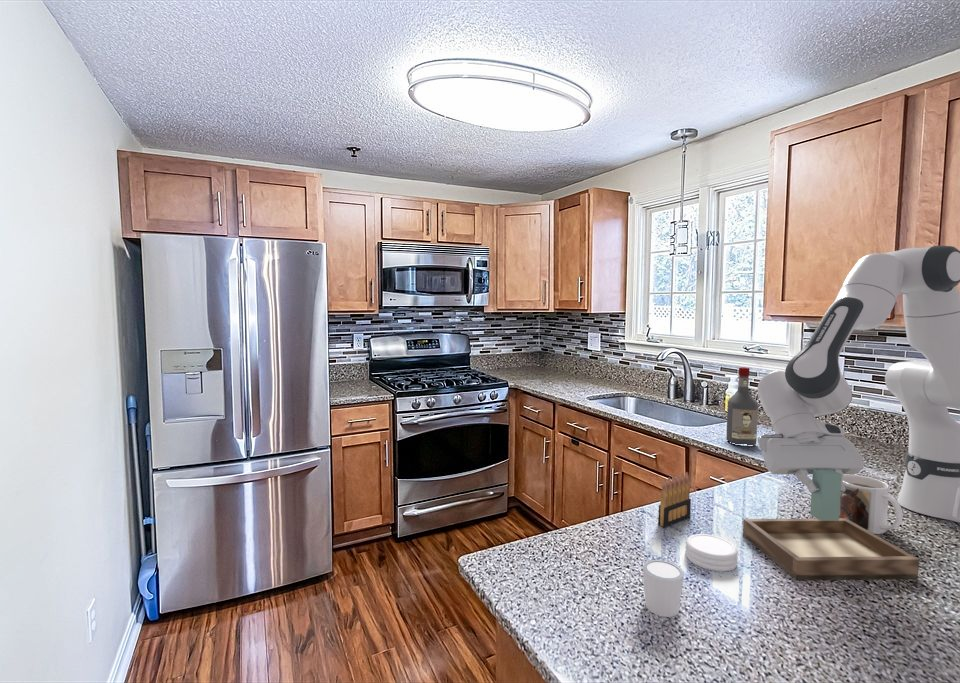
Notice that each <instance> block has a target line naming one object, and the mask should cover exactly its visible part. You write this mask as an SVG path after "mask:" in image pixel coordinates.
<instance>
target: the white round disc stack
mask: <svg viewBox="0 0 960 683" xmlns="http://www.w3.org/2000/svg"><path fill="white" fill-rule="evenodd" d="M684 552H685V553H684V554H685V556H686V558H687V559H688V560H689V561H690V563H692V564H694V565H696V566H698V567H700V568H703V569H706V570H708V571H714V572H729V571H732V570H734V569H736V568H737V566H738V554H739V551H738V549H737V546H736V545H735V544H733V543H732V542H730V541H729V540H727V539H725V538H723V537H720V536H717V535H712V534H706V533H705V534H704V533H698V534H697V533H696V534H692V535H689V536H688V537H687V538H686V539H685V551H684Z"/></svg>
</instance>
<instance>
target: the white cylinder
mask: <svg viewBox="0 0 960 683" xmlns="http://www.w3.org/2000/svg"><path fill="white" fill-rule="evenodd" d="M642 574H643V576H642V578H643V589H644V590H643V591H644V604H645V607H646V609H647V610H649V612H650V613H652V614H654V615H656V616H659V617H662V618H663V617H664V618H673V617H676V616H677V615H678V614H679V612H680V604H681V598H682V590H683V584H684V576H685V572H684V571H683V569H682V568H680V567H679V566H678V565H677V564H675V563H672V562H671V561H665V560H661V559H651V560H647V561H646V562H644V563H643V565H642Z"/></svg>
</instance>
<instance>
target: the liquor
mask: <svg viewBox="0 0 960 683" xmlns="http://www.w3.org/2000/svg"><path fill="white" fill-rule="evenodd" d="M749 377H750V367H740V366H739V367H738V386H737V387H738V388H737V391H736V392H735V393H734V394H733V395H732V396H731V397H730V398H729V399H728V401H727V411H726V412H727V413H726V414H727V415H726V416H727V417H726V434H725V436H726V437H725V439H726V441H727V440H728V441H730V442H731V443H735V444H747V445H754V444H756V445H757V440H758V438H757V436H758V435H757V434H758V414H759V404H758V401H757V400H756V399H755V398H754V396H752V395H751V393H750V390H749V380H750V379H749ZM728 441H727V442H728ZM731 443H730V444H731Z"/></svg>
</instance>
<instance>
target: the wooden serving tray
mask: <svg viewBox="0 0 960 683" xmlns="http://www.w3.org/2000/svg"><path fill="white" fill-rule="evenodd" d="M742 522H743V523H742V524H743V525H742V537H743V538H745V539H746V540H747V539H748V540H747V541H749V543H751V544H752V545H753V544H754V545H753V546H754V547H756V548H757V549H758V550H759V549H760V550H759V551H761V552H762V553H763V554H764V555H765V556H767V557H768V558H769V559H770V560H771V561H772V562H773V563H775V564H776V565H777V566H778V567H780V568H781V569H782V570H783V571H785V573H787V574H788V575H789V576H790V577H791V578H793V579H794V580H795V581H836V580H838V581H840V580H841V581H848V580H850V581H851V580H853V581H855V580H858V581H859V580H860V581H861V580H918V579H919V567H920V566H919V565H920V558H917V557H916V556H914V555H912V554H910V553H909V552H907V551H905V550H904V549H902V548H900V547H898V546H896V545H894V544H893V543H891V542H889V541H887V540H885V539H883V538H881V537H880V536H879V535H878V534H873V533H871V532H869V531H868V530H866V529H864V528H862V527H860V526H859V525H857V524H855V523H853V522H852V521H850V520H848V519H846V518H839V520H834V521H820V520H819V519H817V518H743V519H742Z"/></svg>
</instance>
